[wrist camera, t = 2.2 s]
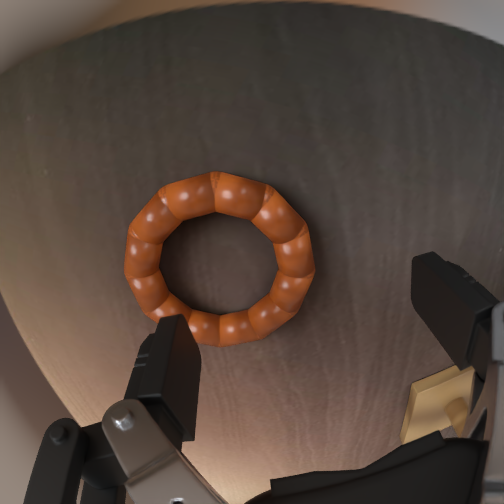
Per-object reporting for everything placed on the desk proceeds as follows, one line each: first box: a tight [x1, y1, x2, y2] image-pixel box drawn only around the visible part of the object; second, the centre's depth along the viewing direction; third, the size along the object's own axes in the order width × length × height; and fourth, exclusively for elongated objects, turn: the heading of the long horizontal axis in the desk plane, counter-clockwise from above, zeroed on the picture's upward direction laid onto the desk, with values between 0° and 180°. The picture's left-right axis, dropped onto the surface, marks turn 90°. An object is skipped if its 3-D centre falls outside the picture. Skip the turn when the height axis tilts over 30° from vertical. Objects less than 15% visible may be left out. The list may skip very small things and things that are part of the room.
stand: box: [400, 365, 475, 444], centre depth 15 cm, size 9×9×14 cm
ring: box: [124, 171, 315, 347], centre depth 14 cm, size 8×8×2 cm
